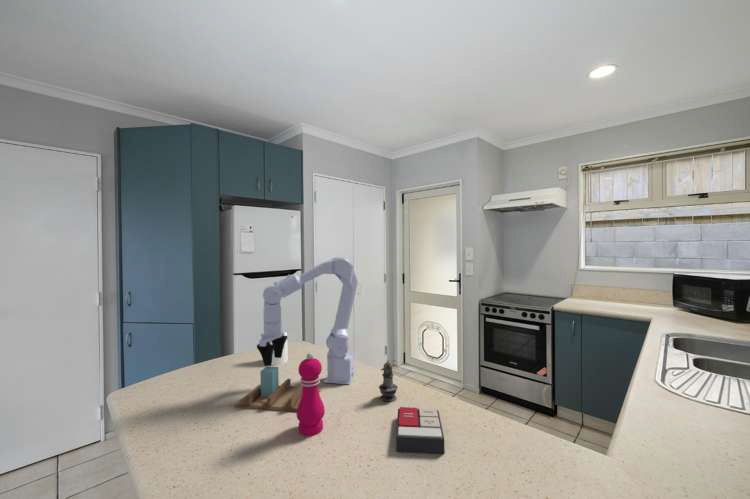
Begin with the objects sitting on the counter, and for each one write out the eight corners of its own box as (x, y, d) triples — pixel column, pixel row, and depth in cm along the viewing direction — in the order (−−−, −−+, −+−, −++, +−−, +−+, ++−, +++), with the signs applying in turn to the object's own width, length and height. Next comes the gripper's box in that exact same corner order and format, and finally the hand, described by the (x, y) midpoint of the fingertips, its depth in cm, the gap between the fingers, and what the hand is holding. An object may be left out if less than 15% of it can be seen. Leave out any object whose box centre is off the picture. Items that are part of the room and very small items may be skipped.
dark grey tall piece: (397, 394, 103) (397, 357, 103) (397, 403, 97) (396, 363, 97) (379, 393, 104) (379, 356, 104) (378, 402, 98) (377, 363, 98)
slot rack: (320, 391, 106) (320, 380, 106) (304, 412, 92) (304, 400, 92) (259, 387, 110) (259, 377, 110) (234, 407, 96) (234, 395, 96)
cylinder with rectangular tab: (261, 364, 132) (261, 335, 132) (271, 357, 141) (271, 330, 141) (281, 365, 130) (281, 336, 130) (291, 358, 139) (290, 330, 139)
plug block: (278, 391, 103) (278, 367, 103) (272, 397, 99) (272, 371, 99) (267, 391, 104) (266, 366, 104) (260, 396, 100) (260, 371, 100)
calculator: (438, 406, 88) (444, 435, 73) (438, 422, 88) (444, 455, 73) (397, 405, 89) (395, 433, 74) (398, 421, 89) (396, 452, 74)
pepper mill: (329, 424, 86) (328, 350, 86) (316, 439, 79) (315, 358, 79) (306, 419, 88) (305, 347, 88) (291, 434, 81) (290, 355, 81)
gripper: (271, 316, 116) (272, 353, 116) (250, 326, 102) (250, 368, 102) (289, 316, 115) (290, 354, 115) (270, 326, 101) (271, 369, 101)
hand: (273, 361), depth 108 cm, fingers open, 7 cm apart
